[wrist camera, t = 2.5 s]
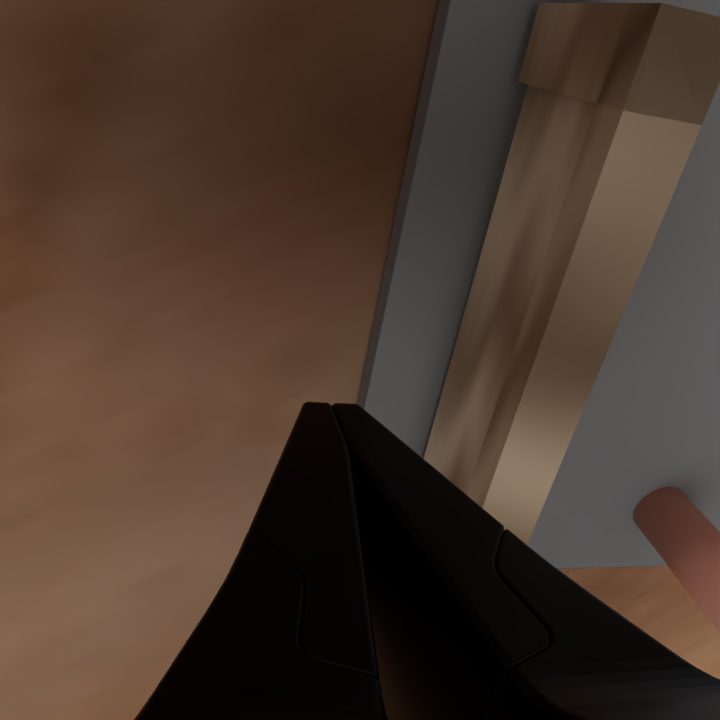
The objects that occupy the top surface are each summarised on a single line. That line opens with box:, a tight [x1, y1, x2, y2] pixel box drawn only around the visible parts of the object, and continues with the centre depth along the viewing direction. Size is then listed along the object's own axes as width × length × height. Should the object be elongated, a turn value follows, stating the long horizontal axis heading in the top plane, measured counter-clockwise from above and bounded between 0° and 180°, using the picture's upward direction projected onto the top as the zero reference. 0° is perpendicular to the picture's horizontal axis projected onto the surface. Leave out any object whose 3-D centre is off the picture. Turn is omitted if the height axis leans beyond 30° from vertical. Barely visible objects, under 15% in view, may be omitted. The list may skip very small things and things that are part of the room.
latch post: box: [633, 487, 720, 632], centre depth 24 cm, size 2×2×6 cm
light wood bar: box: [424, 3, 720, 545], centre depth 17 cm, size 16×2×5 cm, turn 170°
